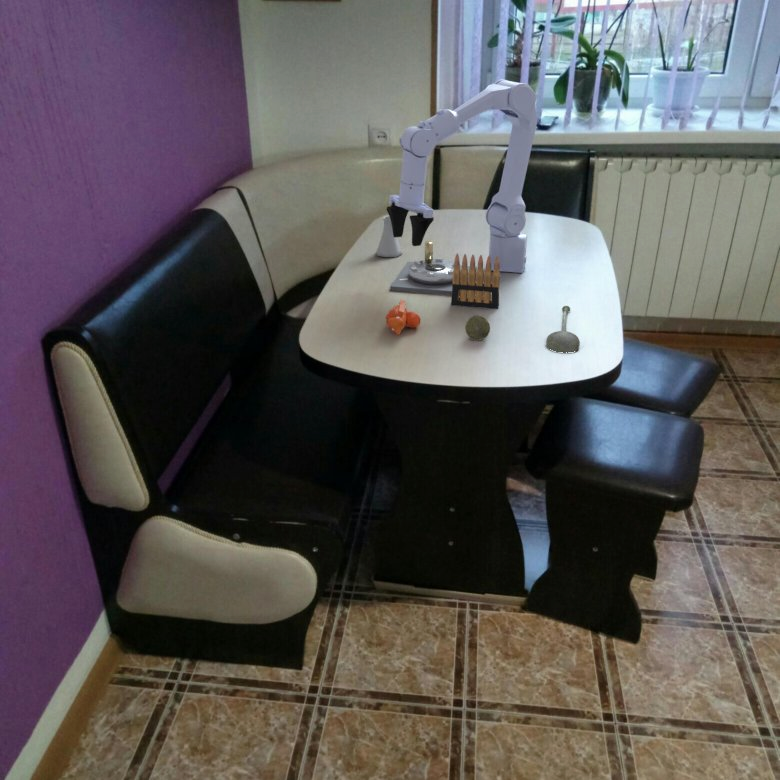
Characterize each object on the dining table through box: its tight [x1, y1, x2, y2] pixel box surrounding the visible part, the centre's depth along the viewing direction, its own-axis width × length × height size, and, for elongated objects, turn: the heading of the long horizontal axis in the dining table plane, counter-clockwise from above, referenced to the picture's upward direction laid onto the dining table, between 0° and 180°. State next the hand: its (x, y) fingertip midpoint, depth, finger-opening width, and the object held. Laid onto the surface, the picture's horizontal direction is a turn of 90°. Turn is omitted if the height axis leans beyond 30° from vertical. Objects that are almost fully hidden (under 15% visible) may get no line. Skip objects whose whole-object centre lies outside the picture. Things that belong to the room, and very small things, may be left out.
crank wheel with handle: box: [409, 240, 462, 285], centre depth 177 cm, size 13×13×7 cm
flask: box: [375, 215, 403, 258], centre depth 194 cm, size 7×7×10 cm
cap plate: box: [389, 261, 478, 296], centre depth 179 cm, size 18×18×1 cm
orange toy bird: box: [385, 299, 422, 336], centre depth 154 cm, size 5×8×12 cm
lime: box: [464, 314, 491, 341], centre depth 148 cm, size 4×5×5 cm
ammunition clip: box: [450, 253, 501, 310], centre depth 161 cm, size 11×2×12 cm, turn 76°
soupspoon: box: [545, 305, 581, 354], centre depth 151 cm, size 22×3×7 cm
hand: (406, 241), depth 172 cm, fingers open, 7 cm apart
